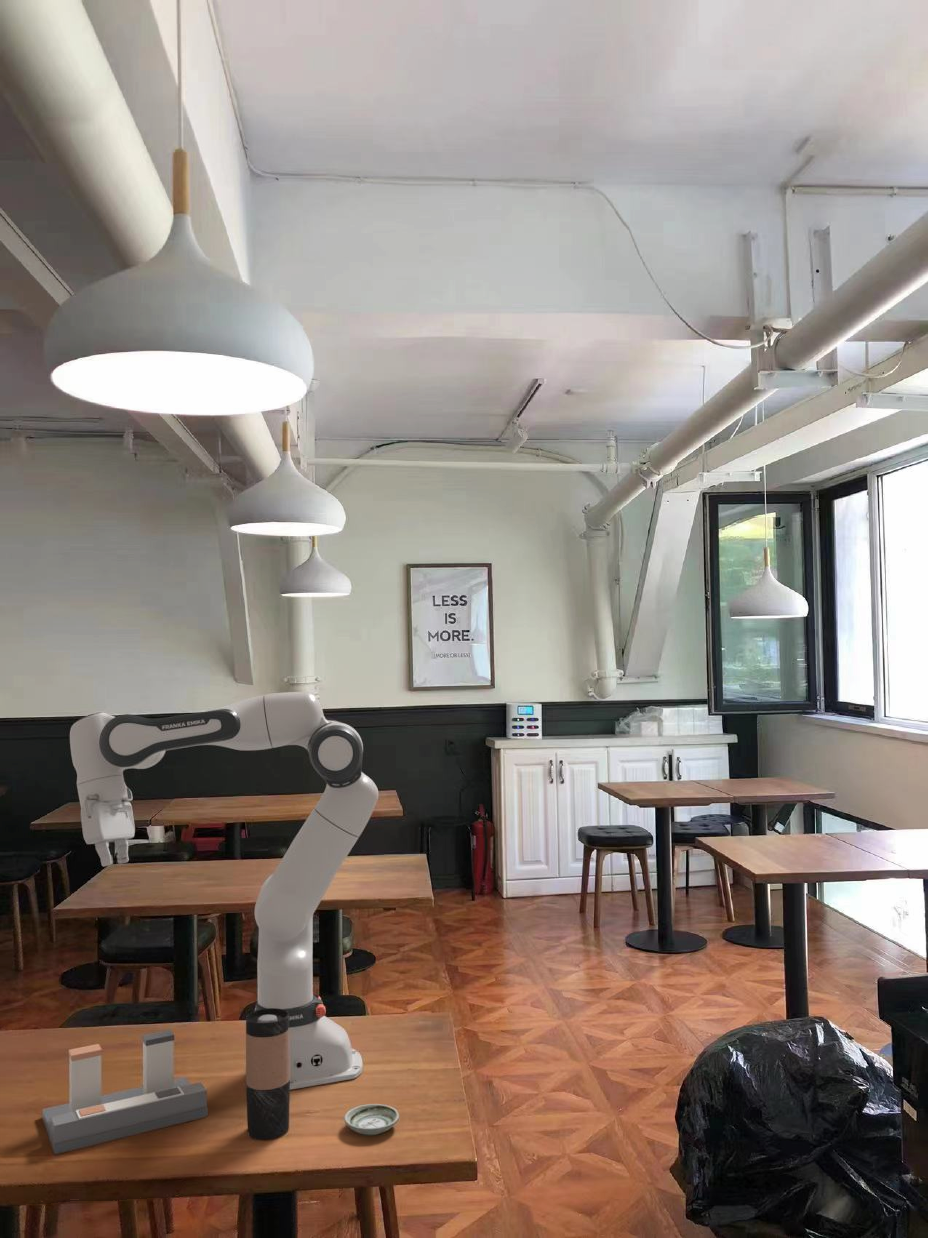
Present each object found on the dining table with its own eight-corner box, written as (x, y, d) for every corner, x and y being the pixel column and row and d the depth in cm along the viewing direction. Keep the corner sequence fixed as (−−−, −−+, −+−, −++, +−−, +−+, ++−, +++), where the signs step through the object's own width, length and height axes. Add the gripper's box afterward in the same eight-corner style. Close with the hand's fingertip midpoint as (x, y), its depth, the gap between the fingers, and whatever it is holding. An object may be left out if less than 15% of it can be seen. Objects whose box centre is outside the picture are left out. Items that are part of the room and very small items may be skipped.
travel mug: (299, 1125, 175) (297, 1011, 176) (273, 1144, 168) (272, 1025, 169) (263, 1117, 179) (262, 1005, 179) (237, 1136, 172) (236, 1019, 173)
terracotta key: (68, 1111, 178) (68, 1049, 179) (98, 1104, 181) (98, 1043, 181) (71, 1118, 176) (71, 1055, 176) (102, 1111, 178) (101, 1049, 179)
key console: (185, 1084, 193) (185, 1059, 193) (207, 1116, 179) (207, 1089, 180) (42, 1117, 180) (42, 1090, 180) (54, 1154, 166) (54, 1125, 167)
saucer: (377, 1148, 167) (377, 1133, 167) (333, 1134, 172) (332, 1120, 172) (410, 1124, 175) (409, 1110, 175) (367, 1112, 180) (366, 1098, 180)
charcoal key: (142, 1094, 185) (142, 1035, 185) (170, 1088, 188) (170, 1029, 188) (146, 1101, 182) (146, 1040, 183) (174, 1094, 185) (174, 1034, 185)
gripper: (100, 790, 186) (114, 863, 183) (134, 791, 206) (147, 857, 203) (67, 798, 185) (80, 871, 183) (104, 799, 205) (116, 865, 203)
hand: (115, 864), depth 193 cm, fingers open, 8 cm apart
